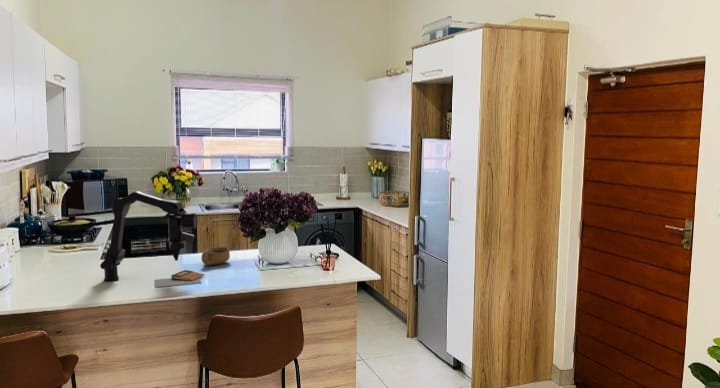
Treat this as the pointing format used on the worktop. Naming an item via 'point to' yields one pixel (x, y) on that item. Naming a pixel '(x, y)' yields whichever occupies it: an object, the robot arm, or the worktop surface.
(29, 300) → the worktop surface
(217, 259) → the bowl
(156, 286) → the rubber mat
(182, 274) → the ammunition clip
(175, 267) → the worktop surface
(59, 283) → the worktop surface
